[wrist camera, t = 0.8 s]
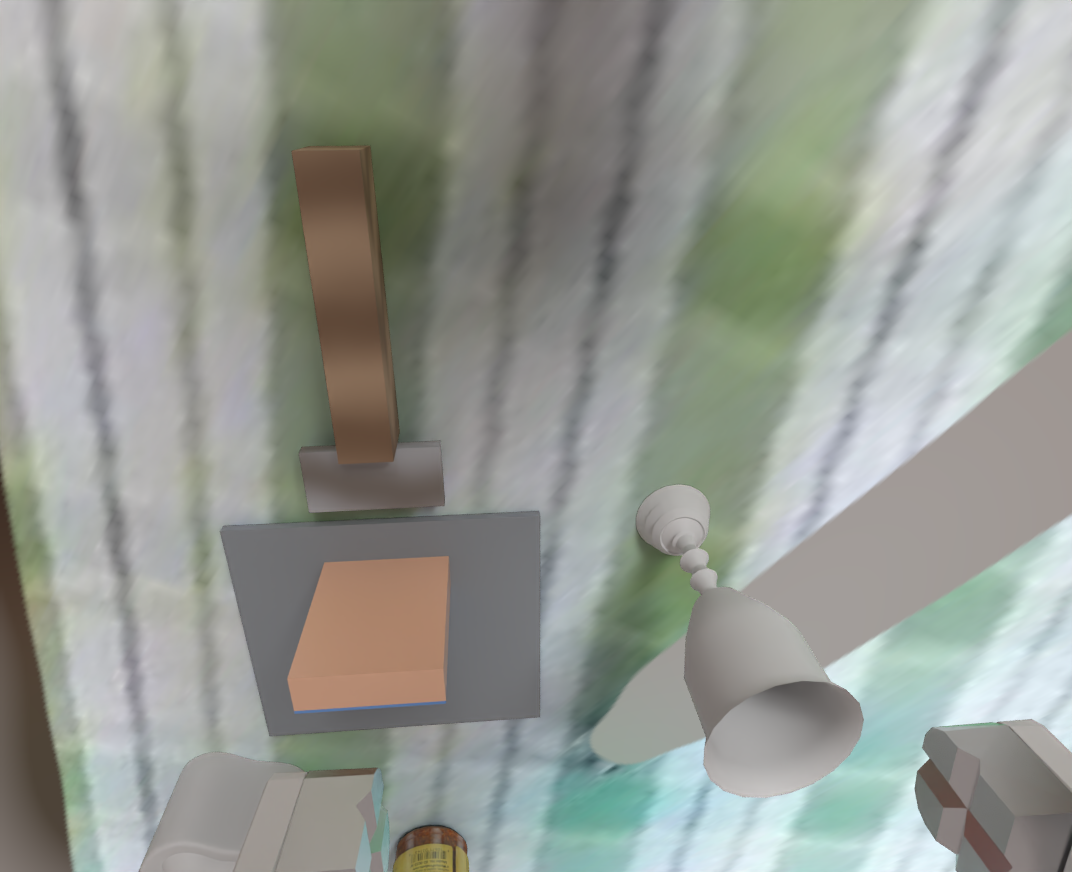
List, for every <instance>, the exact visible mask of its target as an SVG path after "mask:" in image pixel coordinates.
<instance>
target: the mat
mask: <svg viewBox="0 0 1072 872" xmlns="http://www.w3.org/2000/svg"><path fill="white" fill-rule="evenodd" d="M220 533H221V537H222V542H223V546H224V550H225V554H226V558H227V562H228V566H229V570H230V575H231V579H232V583H233V587H234V591H235V595H236V599H237V603H238V608H239V612H240V616H241V620H242V624H243V628H244V632H245V636H246V641H247V645H248V649H249V653H250V657H251V661H252V665H253V669H254V673H255V678H256V682H257V686H258V690H259V694H260V698H261V702H262V706H263V711H264V715H265V719H266V723H267V727H268V731H269V735H270V736H280V735H294V734H308V733H322V732H336V731H351V730H365V729H379V728H393V727H407V726H422V725H436V724H450V723H464V722H478V721H493V720H507V719H521V718H535V717H540V513H539V511H530V512H509V513H488V514H467V515H446V516H425V517H404V518H383V519H362V520H341V521H320V522H299V523H277V524H256V525H235V526H223V527H222V529H221V531H220ZM439 556H449V566H450V580H451V598H450V622H449V647H448V671H447V695H446V704H432V705H418V706H403V707H388V708H374V709H359V710H344V711H330V712H315V713H300V714H295V713H294V708H293V703H292V699H291V694H290V689H289V685H288V680H287V678H288V675H289V672H290V669H291V665H292V662H293V659H294V656H295V653H296V650H297V647H298V644H299V640H300V637H301V634H302V631H303V628H304V625H305V622H306V618H307V615H308V612H309V609H310V606H311V603H312V600H313V597H314V593H315V590H316V587H317V584H318V581H319V578H320V575H321V571H322V568H323V565H324V562H343V561H362V560H382V559H401V558H420V557H439Z"/></svg>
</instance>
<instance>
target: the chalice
mask: <svg viewBox="0 0 1072 872" xmlns="http://www.w3.org/2000/svg"><path fill="white" fill-rule="evenodd" d="M709 518H710V505H709V503H708V500H707V498H706V497H705V496H704V495H703V494H702V493H701V492H700V490H697V489H695V488H693V487H691V486H688V485H680V484H677V485H670V486H665V487H663V488H661V489H658V490H656V491H654V492H653V493H652V494H651V495H649V496H648V497H647V498H646V499H645V500H644V502H643V503H642V504H641V506H640V507H639V510H638V513H637V516H636V528H637V530H638V532H639V534H640V536H641V537H642V538H643V539H644V540H645V541H646V542H647V543H648V544H650V545H652V546H653V547H655V548H656V549H659V550H660V551H661V552H663V553H665V554H667V555H674V556H679V555H683V556H682V557H681V560H680V566H681V568H682V569H683V570H684V571H686V572H689V573H692V578H691V580H690V585H691V587H692V588H693V589H694V590H696V591H699V593H700V594H701V596H700V597H699V598H698V599H697V600H696V602H695V604H694V606H693V609H692V613H691V617H690V622H689V626H688V630H687V634H686V644H685V667H684V679H685V682H686V684H687V687H688V690H689V692H690V695H691V698H692V701H693V703H694V706H695V709H696V711H697V714H698V717H699V719H700V722H701V725H702V728H703V730H704V733H705V736H706V742H705V748H704V764H703V765H704V767H705V769H706V771H707V774H708V776H709V778H710V780H711V781H712V782H714V783H715V784H716V785H717V786H719V787H720V788H721V789H722V790H723V791H726V792H729V793H732V794H735V795H739V796H742V797H759V798H767V797H772V796H778V795H783V794H788V793H791V792H794V791H796V790H799V789H801V788H804V787H807V786H809V785H812V784H814V783H815V782H817V781H818V780H820V779H821V778H823V777H825V776H826V775H828V774H829V773H831V772H832V771H834V770H835V769H836V768H837V767H838V766H839V765H840V764H841V763H842V762H843V761H844V760H845V759H846V758H847V757H848V756H849V755H850V753H851V752H852V750H853V748H854V747H855V745H856V744H857V742H858V740H859V739H860V736H861V731H862V726H863V721H864V719H863V715H862V711H861V707H860V704H859V702H858V701H857V700H856V699H855V698H854V697H853V696H852V695H851V694H850V693H849V692H848V691H847V690H846V689H844V688H842V687H840V686H838V685H836V684H834V683H832V682H831V681H830V679H829V678H828V676H827V675H826V673H825V671H824V670H823V668H822V667H821V665H820V663H819V662H818V660H817V659H816V657H815V655H814V654H813V652H812V650H811V649H810V647H809V646H808V644H807V642H806V641H805V639H804V638H803V636H802V634H801V633H800V631H799V630H798V629H797V628H796V627H795V626H794V625H793V624H792V623H791V622H790V621H789V620H788V619H787V618H785V617H784V616H782V615H781V614H780V613H778V612H777V611H775V610H774V609H772V608H771V607H770V606H768V605H767V604H765V603H763V602H761V601H758V600H756V599H754V598H752V597H750V596H747V595H745V594H743V593H741V592H739V591H737V590H734V589H732V588H730V587H718V588H717V585H716V582H717V574H716V572H715V571H714V570H711V569H708V568H707V567H706V565H707V563H708V561H709V556H708V553H707V552H706V551H705V550H703V549H698V548H699V547H700V546H701V544H702V543H703V542H704V540H705V539H706V537H707V534H708V526H709Z"/></svg>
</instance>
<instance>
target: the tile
mask: <svg viewBox="0 0 1072 872" xmlns="http://www.w3.org/2000/svg"><path fill="white" fill-rule="evenodd" d="M450 598H451V580H450V566H449V556H439V557H420V558H401V559H382V560H362V561H343V562H324V565H323V568H322V571H321V575H320V578H319V581H318V584H317V587H316V590H315V593H314V597H313V600H312V603H311V606H310V609H309V612H308V615H307V618H306V622H305V625H304V628H303V631H302V634H301V637H300V640H299V644H298V647H297V650H296V653H295V656H294V659H293V662H292V665H291V669H290V672H289V675H288V678H287V680H288V685H289V689H290V694H291V699H292V703H293V708H294V713H295V714H300V713H315V712H330V711H344V710H359V709H374V708H388V707H403V706H418V705H432V704H446V695H447V671H448V647H449V622H450Z"/></svg>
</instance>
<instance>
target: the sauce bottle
mask: <svg viewBox="0 0 1072 872" xmlns="http://www.w3.org/2000/svg"><path fill="white" fill-rule="evenodd" d="M393 872H469V861H468V857H467V845H466V842H465V840H464V839H463V838H462V837H461V836H460V835H459V834H458V833H457V832H455V831H454V830H452V829H450V828H446V827H443V826H440V827H439V826H426V827H422V828H419V829H414V830H413V831H411V832H410V833H407V834H406V835H405V836H404V837H403V838H402V839H401V840H400V842H399V843H398V846H397V852H396V859H395V863H394V865H393Z"/></svg>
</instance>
